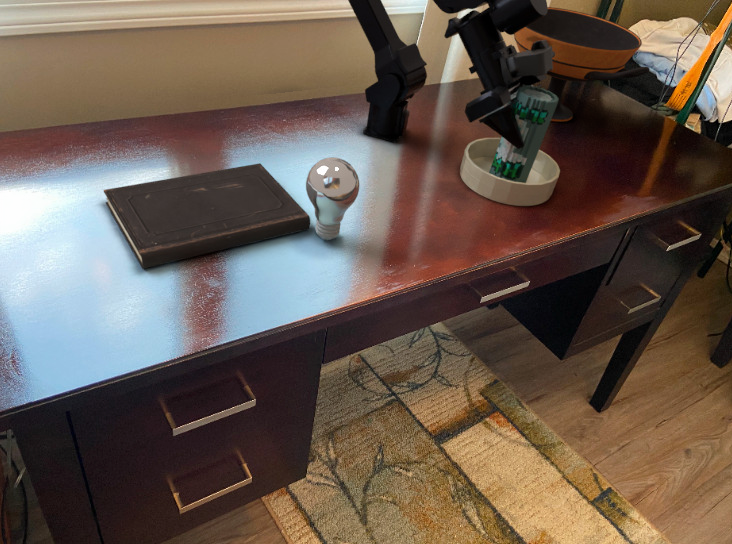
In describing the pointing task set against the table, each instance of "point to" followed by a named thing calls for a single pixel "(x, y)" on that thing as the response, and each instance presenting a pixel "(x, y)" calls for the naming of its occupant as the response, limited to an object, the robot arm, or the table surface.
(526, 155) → the can
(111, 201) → the hardcover book
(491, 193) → the pan
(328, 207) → the light bulb
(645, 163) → the table surface
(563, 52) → the footed terracotta bowl
